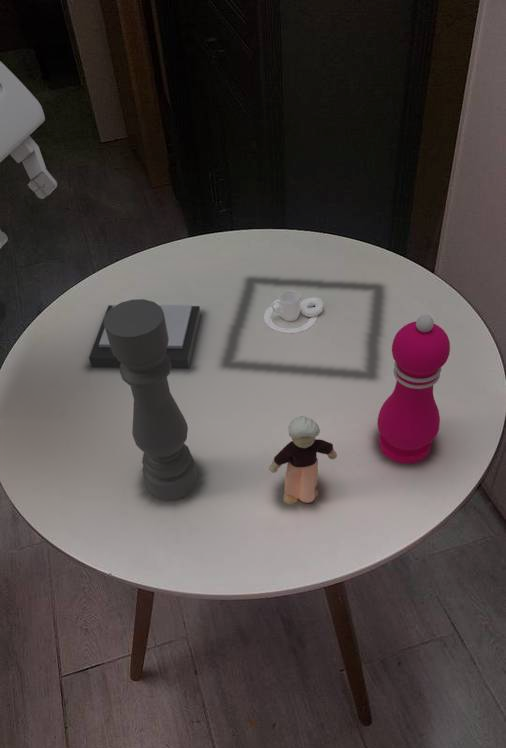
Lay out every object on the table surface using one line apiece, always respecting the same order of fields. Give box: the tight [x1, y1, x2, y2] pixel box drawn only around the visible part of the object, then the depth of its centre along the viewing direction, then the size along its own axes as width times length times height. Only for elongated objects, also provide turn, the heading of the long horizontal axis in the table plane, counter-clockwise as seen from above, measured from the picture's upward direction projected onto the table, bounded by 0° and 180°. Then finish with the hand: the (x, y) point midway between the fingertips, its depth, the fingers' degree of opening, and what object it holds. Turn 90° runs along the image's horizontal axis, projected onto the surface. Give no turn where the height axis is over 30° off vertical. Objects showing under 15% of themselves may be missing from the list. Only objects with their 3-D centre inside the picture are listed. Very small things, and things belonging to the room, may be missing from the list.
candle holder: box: [103, 298, 198, 502], centre depth 73 cm, size 6×6×25 cm
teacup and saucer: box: [263, 289, 325, 334], centre depth 101 cm, size 9×8×4 cm
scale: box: [88, 304, 202, 370], centre depth 99 cm, size 14×12×3 cm
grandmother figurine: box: [268, 415, 338, 505], centre depth 76 cm, size 8×4×13 cm, turn 114°
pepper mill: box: [376, 314, 451, 464], centre depth 77 cm, size 7×7×20 cm
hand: (26, 219), depth 61 cm, fingers open, 8 cm apart
